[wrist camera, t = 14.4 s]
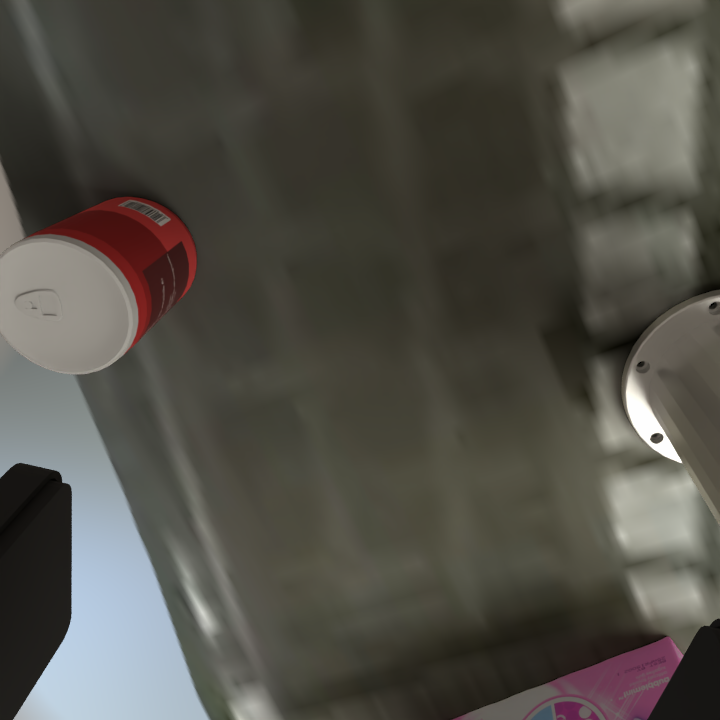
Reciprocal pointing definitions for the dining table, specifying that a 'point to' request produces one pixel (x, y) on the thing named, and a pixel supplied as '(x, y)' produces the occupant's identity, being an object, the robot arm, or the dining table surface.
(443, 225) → the dining table surface
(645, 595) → the dining table surface
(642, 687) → the gum box
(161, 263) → the canned food
